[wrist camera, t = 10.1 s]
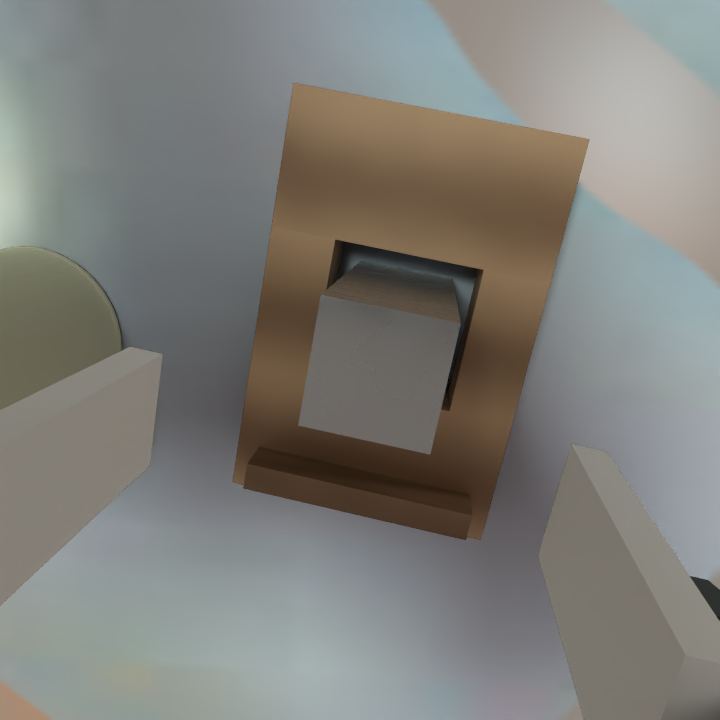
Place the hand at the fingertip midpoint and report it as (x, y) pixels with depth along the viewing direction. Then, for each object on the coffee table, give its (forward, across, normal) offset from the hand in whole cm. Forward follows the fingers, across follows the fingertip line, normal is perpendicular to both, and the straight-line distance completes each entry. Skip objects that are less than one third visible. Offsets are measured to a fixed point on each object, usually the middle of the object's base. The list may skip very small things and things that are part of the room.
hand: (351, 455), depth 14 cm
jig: (+17, 0, 0) cm, 17 cm away
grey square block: (+17, 0, 0) cm, 17 cm away
